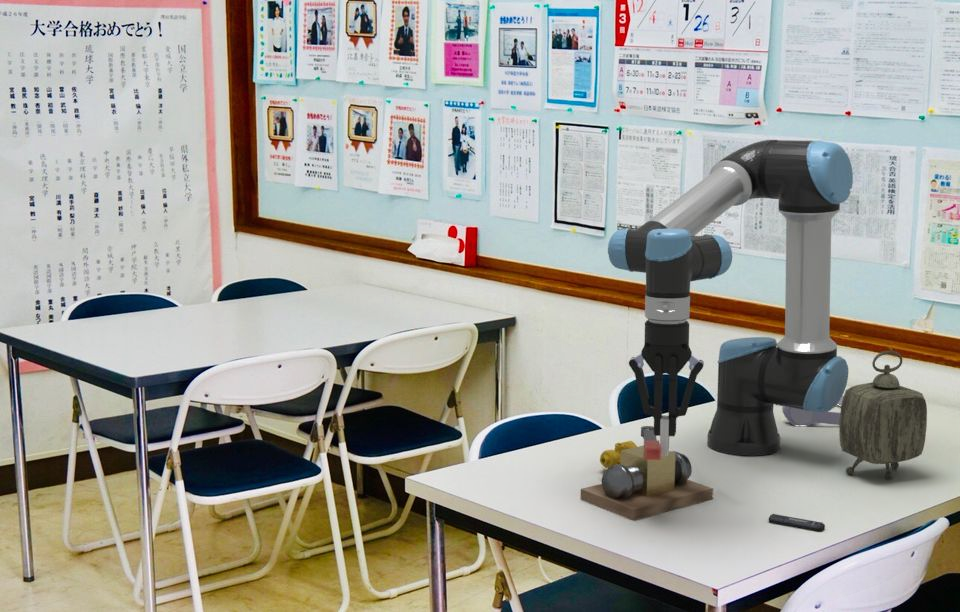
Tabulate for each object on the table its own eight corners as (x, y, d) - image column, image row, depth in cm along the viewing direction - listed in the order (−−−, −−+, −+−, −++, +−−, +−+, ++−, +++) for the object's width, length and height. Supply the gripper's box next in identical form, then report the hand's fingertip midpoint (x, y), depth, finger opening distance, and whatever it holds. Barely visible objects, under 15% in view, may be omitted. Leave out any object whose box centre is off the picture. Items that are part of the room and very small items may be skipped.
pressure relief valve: (591, 468, 243) (627, 459, 249) (635, 493, 234) (670, 483, 240) (596, 442, 241) (631, 434, 247) (640, 466, 233) (675, 457, 239)
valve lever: (640, 435, 225) (640, 424, 225) (655, 435, 225) (656, 424, 224) (644, 459, 210) (644, 448, 210) (661, 459, 210) (661, 448, 209)
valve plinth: (658, 479, 237) (658, 469, 237) (712, 498, 226) (713, 488, 226) (580, 499, 225) (580, 488, 225) (633, 520, 214) (633, 509, 214)
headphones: (781, 426, 276) (872, 436, 273) (784, 395, 275) (876, 405, 272) (773, 402, 298) (858, 411, 295) (776, 374, 297) (861, 382, 294)
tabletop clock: (896, 466, 246) (903, 344, 242) (927, 479, 238) (936, 353, 234) (836, 473, 241) (843, 349, 237) (866, 487, 233) (874, 358, 229)
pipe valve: (668, 478, 233) (669, 426, 232) (695, 488, 228) (697, 435, 226) (597, 496, 223) (598, 442, 221) (624, 506, 217) (625, 451, 216)
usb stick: (766, 524, 214) (767, 516, 213) (771, 520, 216) (772, 511, 215) (821, 535, 209) (821, 526, 208) (825, 530, 211) (825, 521, 211)
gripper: (626, 322, 207) (624, 457, 211) (704, 325, 204) (701, 462, 208) (631, 315, 214) (629, 445, 218) (706, 317, 211) (703, 450, 215)
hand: (664, 453), depth 213 cm, fingers closed
